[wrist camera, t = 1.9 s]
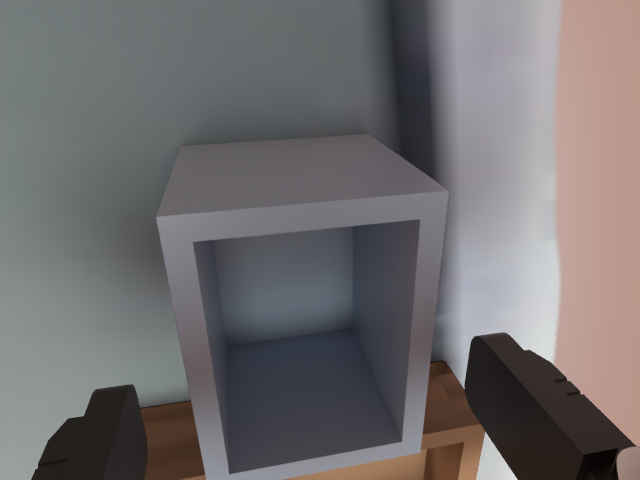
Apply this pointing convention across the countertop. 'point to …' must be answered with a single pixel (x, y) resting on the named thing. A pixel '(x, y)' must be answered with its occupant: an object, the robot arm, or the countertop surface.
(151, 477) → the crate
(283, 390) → the grey open bin
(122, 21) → the countertop surface
